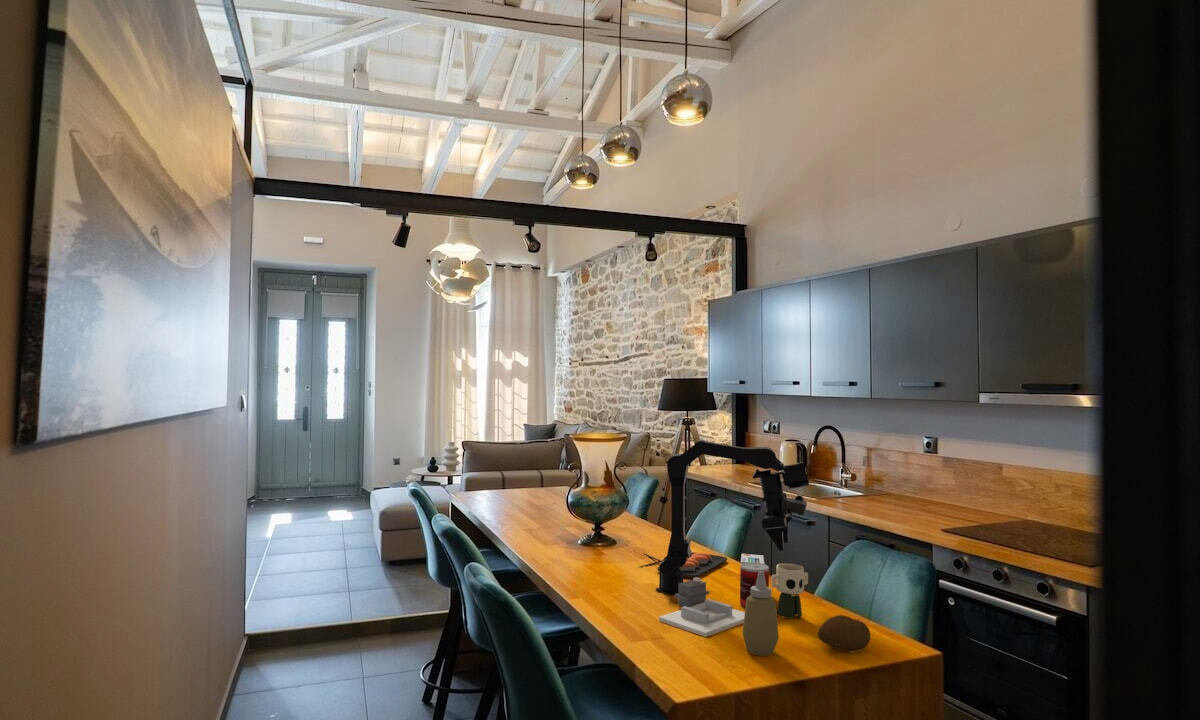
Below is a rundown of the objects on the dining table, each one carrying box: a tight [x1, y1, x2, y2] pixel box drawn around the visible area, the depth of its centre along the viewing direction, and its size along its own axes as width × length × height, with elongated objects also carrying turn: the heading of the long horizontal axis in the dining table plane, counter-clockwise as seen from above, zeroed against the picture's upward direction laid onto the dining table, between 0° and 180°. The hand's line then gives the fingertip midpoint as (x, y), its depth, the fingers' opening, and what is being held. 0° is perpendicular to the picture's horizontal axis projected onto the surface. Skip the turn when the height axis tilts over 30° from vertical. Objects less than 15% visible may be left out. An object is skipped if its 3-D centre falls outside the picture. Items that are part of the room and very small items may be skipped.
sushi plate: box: [639, 551, 728, 578], centre depth 239 cm, size 29×30×4 cm
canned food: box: [739, 563, 770, 609], centre depth 195 cm, size 8×8×11 cm
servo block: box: [674, 576, 710, 607], centre depth 195 cm, size 4×10×7 cm, turn 133°
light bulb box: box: [740, 553, 766, 565], centre depth 205 cm, size 11×7×11 cm, turn 168°
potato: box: [816, 614, 871, 652], centre depth 164 cm, size 8×12×8 cm, turn 103°
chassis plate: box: [658, 598, 745, 638], centre depth 183 cm, size 15×20×3 cm
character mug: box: [771, 563, 809, 619], centre depth 187 cm, size 11×7×13 cm, turn 108°
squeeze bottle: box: [742, 572, 780, 657], centre depth 162 cm, size 8×8×18 cm
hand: (783, 546), depth 200 cm, fingers open, 9 cm apart
